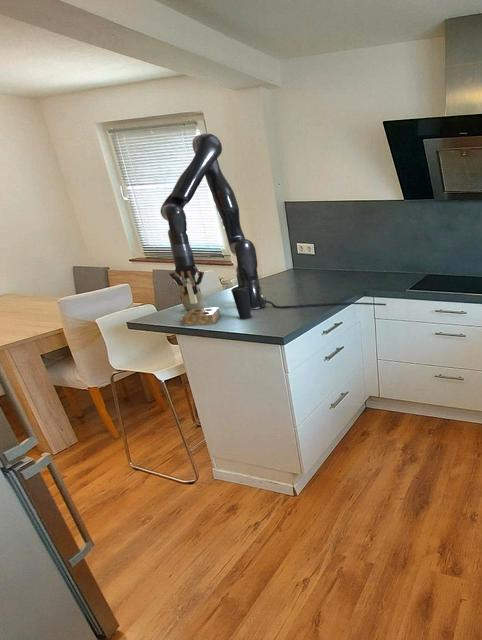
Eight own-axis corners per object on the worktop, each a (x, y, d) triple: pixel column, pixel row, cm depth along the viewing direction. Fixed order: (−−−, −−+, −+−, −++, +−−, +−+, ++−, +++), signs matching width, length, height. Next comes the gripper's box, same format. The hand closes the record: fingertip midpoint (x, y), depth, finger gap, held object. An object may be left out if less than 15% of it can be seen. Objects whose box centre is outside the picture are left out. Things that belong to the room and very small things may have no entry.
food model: (206, 306, 192) (197, 266, 183) (203, 310, 186) (193, 269, 178) (184, 308, 189) (174, 267, 181) (181, 312, 183) (170, 270, 175)
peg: (197, 302, 171) (193, 282, 168) (196, 303, 169) (191, 283, 166) (192, 302, 171) (187, 282, 167) (190, 303, 169) (185, 283, 165)
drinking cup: (237, 321, 171) (228, 276, 162) (235, 316, 177) (226, 273, 168) (255, 318, 174) (247, 274, 166) (253, 314, 180) (245, 271, 172)
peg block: (220, 315, 178) (218, 307, 177) (214, 323, 167) (212, 314, 166) (192, 317, 176) (190, 309, 174) (184, 325, 165) (181, 316, 163)
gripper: (161, 256, 157) (172, 297, 164) (197, 255, 160) (207, 295, 167) (167, 253, 163) (177, 293, 170) (202, 252, 166) (211, 291, 173)
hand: (192, 294), depth 169 cm, fingers closed on peg, 2 cm apart
